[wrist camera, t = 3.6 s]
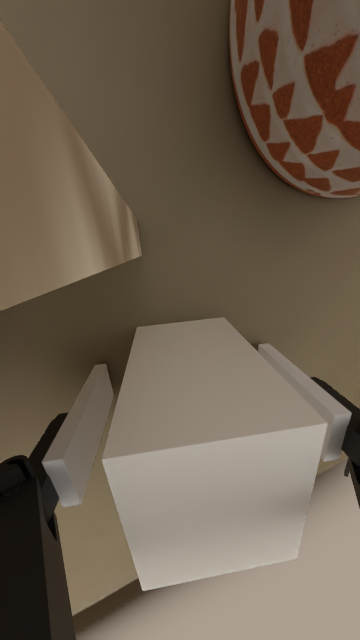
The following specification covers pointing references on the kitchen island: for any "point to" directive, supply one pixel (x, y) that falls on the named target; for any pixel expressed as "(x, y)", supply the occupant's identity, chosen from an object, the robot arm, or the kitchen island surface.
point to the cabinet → (208, 455)
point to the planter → (301, 89)
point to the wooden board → (51, 192)
